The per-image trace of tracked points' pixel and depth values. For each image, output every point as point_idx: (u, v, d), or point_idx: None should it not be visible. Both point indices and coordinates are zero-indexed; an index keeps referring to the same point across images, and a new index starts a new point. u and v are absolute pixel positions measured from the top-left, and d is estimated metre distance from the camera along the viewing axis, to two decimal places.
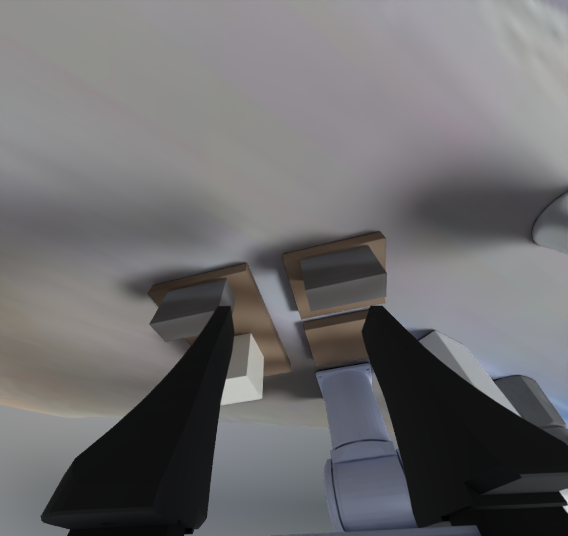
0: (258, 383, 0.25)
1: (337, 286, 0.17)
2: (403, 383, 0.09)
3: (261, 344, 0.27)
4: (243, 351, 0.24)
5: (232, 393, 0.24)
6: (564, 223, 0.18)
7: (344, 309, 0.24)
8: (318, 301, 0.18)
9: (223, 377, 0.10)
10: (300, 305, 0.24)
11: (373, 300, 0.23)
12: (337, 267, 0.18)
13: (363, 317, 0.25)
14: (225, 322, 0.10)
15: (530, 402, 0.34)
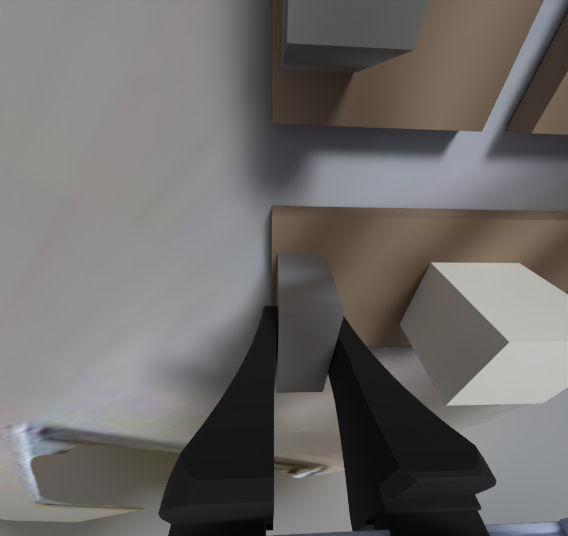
0: None
1: None
2: (344, 384, 0.09)
3: (479, 254, 0.12)
4: (451, 299, 0.11)
5: (537, 378, 0.10)
6: None
7: None
8: None
9: None
10: (431, 118, 0.08)
11: None
12: None
13: None
14: (277, 322, 0.10)
15: None
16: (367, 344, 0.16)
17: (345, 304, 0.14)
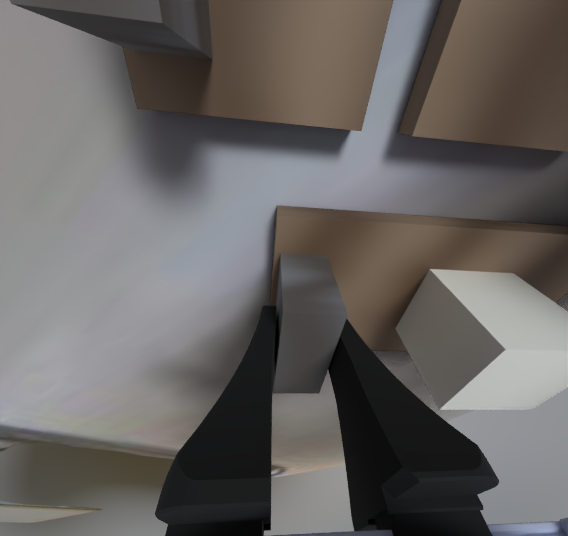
0: (565, 331, 0.09)
1: None
2: (346, 384, 0.09)
3: (475, 263, 0.12)
4: (449, 306, 0.11)
5: (527, 385, 0.10)
6: None
7: None
8: None
9: (273, 376, 0.10)
10: (306, 114, 0.08)
11: None
12: None
13: None
14: (276, 322, 0.10)
15: None
16: None
17: None
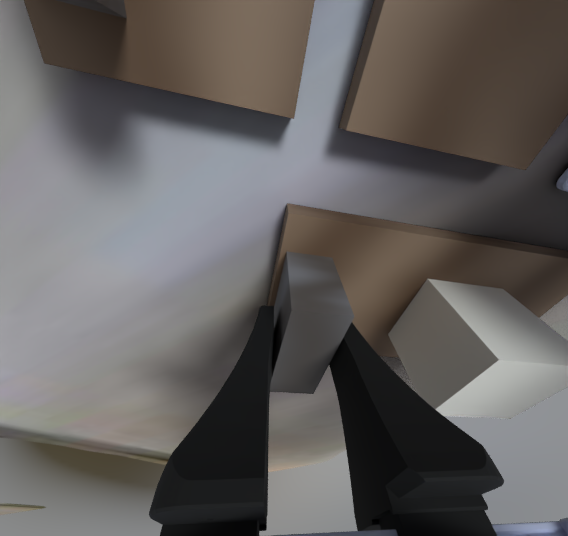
0: (549, 345, 0.10)
1: None
2: (349, 384, 0.09)
3: (470, 276, 0.13)
4: (445, 315, 0.11)
5: (511, 395, 0.11)
6: None
7: None
8: None
9: (270, 376, 0.10)
10: (234, 93, 0.08)
11: None
12: None
13: None
14: (273, 322, 0.10)
15: None
16: None
17: None
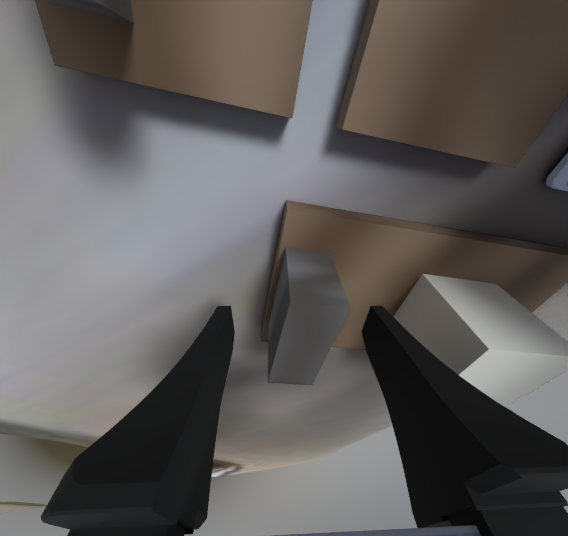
0: (539, 336, 0.10)
1: None
2: (403, 383, 0.09)
3: (464, 272, 0.13)
4: (438, 309, 0.12)
5: (503, 385, 0.11)
6: None
7: None
8: None
9: (223, 377, 0.10)
10: (236, 94, 0.08)
11: None
12: None
13: None
14: (225, 322, 0.10)
15: None
16: (352, 345, 0.17)
17: None
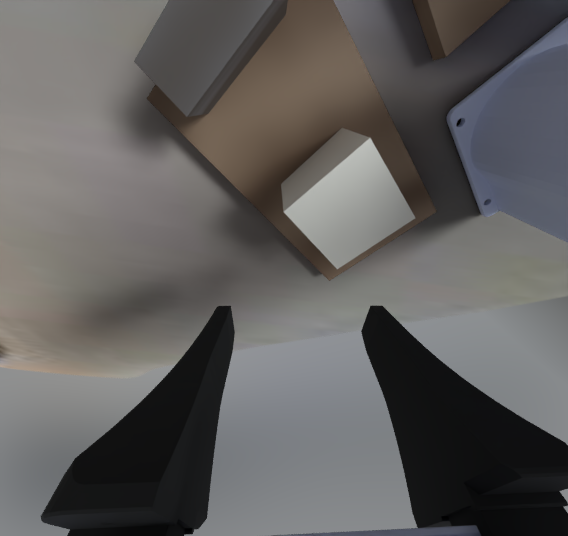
0: None
1: None
2: (403, 383, 0.09)
3: None
4: (342, 140, 0.12)
5: (353, 221, 0.12)
6: None
7: None
8: None
9: (223, 377, 0.10)
10: None
11: None
12: None
13: None
14: (225, 322, 0.10)
15: None
16: (242, 187, 0.16)
17: (258, 109, 0.13)
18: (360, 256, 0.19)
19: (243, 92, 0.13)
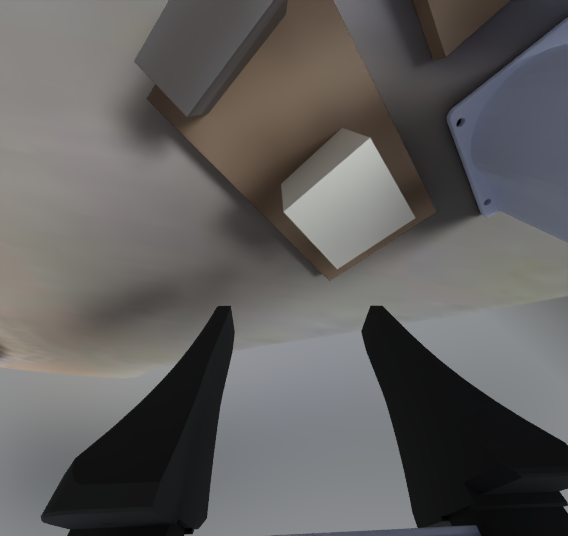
0: None
1: None
2: (403, 383, 0.09)
3: None
4: (342, 140, 0.12)
5: (353, 221, 0.12)
6: None
7: None
8: None
9: (223, 377, 0.10)
10: None
11: None
12: None
13: None
14: (225, 322, 0.10)
15: None
16: (242, 187, 0.16)
17: (258, 109, 0.13)
18: (360, 256, 0.19)
19: (243, 92, 0.13)
